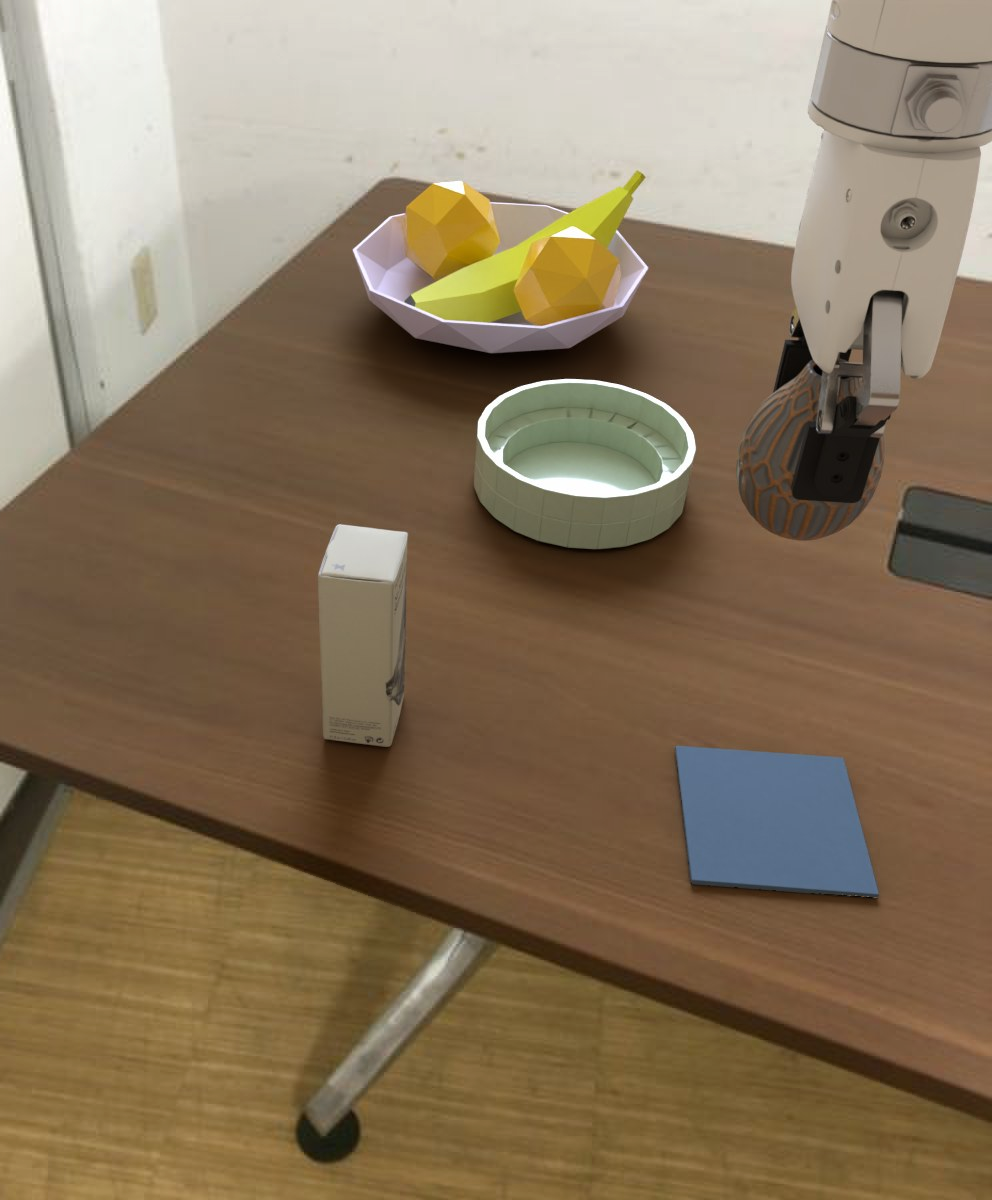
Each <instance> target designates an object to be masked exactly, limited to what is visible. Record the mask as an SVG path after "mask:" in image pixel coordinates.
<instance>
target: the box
mask: <svg viewBox="0 0 992 1200" xmlns="http://www.w3.org/2000/svg"><path fill="white" fill-rule="evenodd" d="M408 538H409V533H408V532H407V531H400V530H399V531H398V530H391V529H383V528H374V527H367V526H360V525H359V526H358V525H349V524H340V523H338V524H337V525H336V526H335V527H334V529H333V532H332V534H331V537H330V540H329V542H328V544H327V547H326V550H325V553H324V556H323V558H322V561H321V565H320V568H319V570H318V573H317V582H318V583H317V591H318V593H317V595H318V618H319V619H318V620H319V623H318V624H319V646H320V647H319V648H320V649H319V650H320V675H321V677H320V678H321V700H322V701H321V704H322V706H321V707H322V737H323V739H324V740H330V741H338V742H345V743H352V744H361V745H368V746H375V747H385V748H389V747H392V744H393V740H394V737H395V734H396V731H397V728H398V724H399V719H400V715H401V712H402V706H403V703H404V698H405V697H404V696H405V684H406V683H405V681H406V677H405V676H406V636H407V567H408V565H407V564H408V561H407V560H408V540H409V539H408Z"/></svg>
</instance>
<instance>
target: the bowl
mask: <svg viewBox="0 0 992 1200" xmlns="http://www.w3.org/2000/svg"><path fill="white" fill-rule="evenodd" d="M476 428H477V429H476V443H475V458H474V459H475V461H474V474H473V488H474V490H475V493H476V495H477V498H478V500H479V502H480V503H481V504H482V506H483V507H484V508H485V509H486V511H487V512H488V513H489V514H490V515H491V516H492V517H493V518H494V519H495V520H496V521H498V522H500V523H502V524H503V525H504V526H506V527H508V528H509V529H510V530H512V531H513V532H516V533H518V534H520V535H522V536H525V537H528V538H530V539H533V540H535V541H537V542H541V543H545V544H550V545H555V546H559V547H564V548H569V549H570V548H571V549H584V550H585V549H586V550H603V549H604V550H605V549H606V550H607V549H613V548H624V547H629V546H632V545H635V544H638V543H642V542H645V541H649V540H652V539H653V538H655V537H657V536H658V535H660V534H662V533H664V532H665V531H667V530H669V529H670V528H671V527H672V525H674V523H675V522H676V521H677V520H678V519H679V518H680V517H681V515H682V514H683V511H684V508H685V504H686V501H687V497H688V492H689V488H690V483H691V477H692V473H693V469H694V463H695V462H694V461H695V458H696V453H697V445H696V444H697V443H696V439H695V434H694V432H693V430H692V429H691V427H690V426H689V424H688V422H687V421H686V419H685V418H684V417H683V416H682V415H681V414H679V413H678V412H677V411H676V410H675V409H673V408H672V407H671V406H670V405H668V404H667V403H665V402H663V401H662V400H660V399H657V397H654V396H652V395H650V394H648V393H646V392H643V391H640V390H637V389H633V388H631V387H628V386H625V385H622V384H617V383H611V382H607V381H601V380H595V379H578V378H577V379H576V378H564V379H552V380H551V379H549V380H542V381H536V382H533V383H529V384H525V385H520V386H517V387H516V388H514V389H511V390H509V391H507V392H505V393H503V394H501V395H499V396H498V397H496V398H495V399H494V400H493V401H492V402H490V403H489V404H487V406H485V408H484V410H483V412H482V413H481V415H480V416H479V418H478V420H477V427H476Z"/></svg>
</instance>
